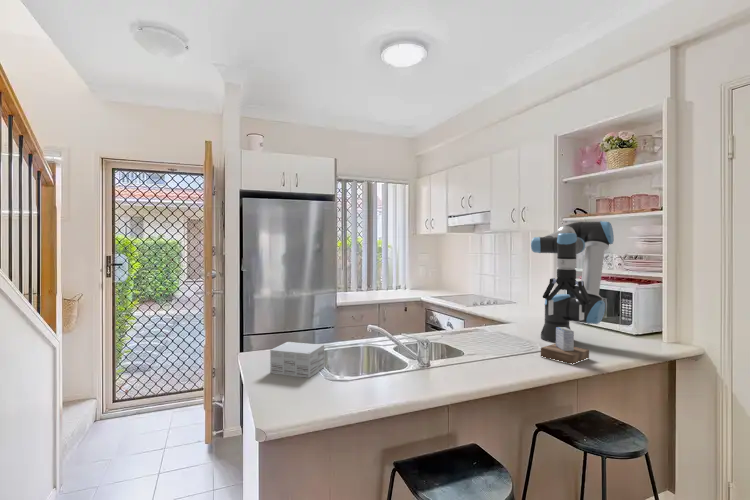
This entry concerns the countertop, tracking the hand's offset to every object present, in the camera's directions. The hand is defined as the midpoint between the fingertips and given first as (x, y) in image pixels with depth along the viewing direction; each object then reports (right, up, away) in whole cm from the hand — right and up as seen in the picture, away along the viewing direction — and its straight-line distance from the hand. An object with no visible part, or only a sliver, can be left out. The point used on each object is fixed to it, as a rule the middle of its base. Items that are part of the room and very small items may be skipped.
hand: (565, 317), depth 172 cm
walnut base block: (0, -18, 0) cm, 18 cm away
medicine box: (0, -14, 0) cm, 14 cm away
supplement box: (-113, -18, -17) cm, 116 cm away
